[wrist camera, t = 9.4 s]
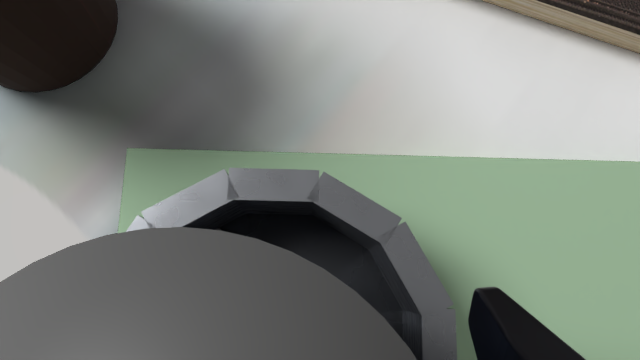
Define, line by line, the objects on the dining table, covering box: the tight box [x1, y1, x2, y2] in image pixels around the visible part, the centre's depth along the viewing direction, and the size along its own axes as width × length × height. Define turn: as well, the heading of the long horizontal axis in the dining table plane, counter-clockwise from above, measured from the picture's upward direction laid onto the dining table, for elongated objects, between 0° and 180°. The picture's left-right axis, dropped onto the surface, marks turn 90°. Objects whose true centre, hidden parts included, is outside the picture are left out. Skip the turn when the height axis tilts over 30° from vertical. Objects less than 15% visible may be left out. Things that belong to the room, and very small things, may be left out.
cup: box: [126, 168, 457, 360], centre depth 15 cm, size 11×11×4 cm
